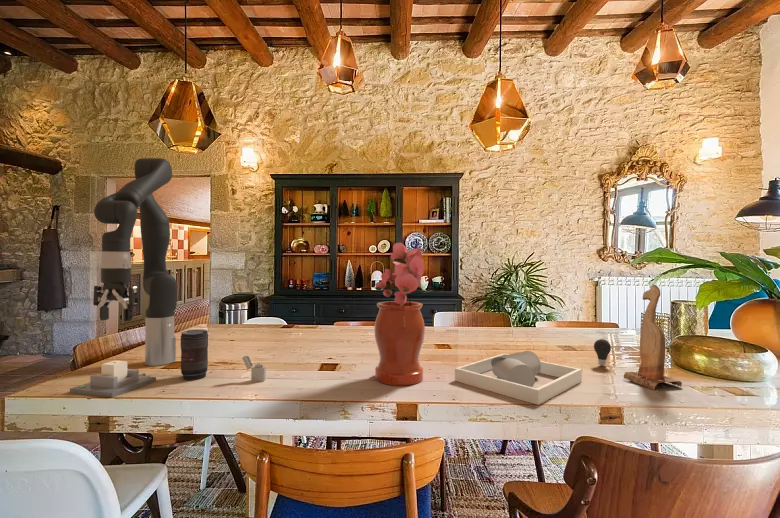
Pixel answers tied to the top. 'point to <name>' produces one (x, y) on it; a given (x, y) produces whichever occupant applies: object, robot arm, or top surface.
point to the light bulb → (602, 350)
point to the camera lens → (194, 354)
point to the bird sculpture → (651, 347)
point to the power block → (113, 384)
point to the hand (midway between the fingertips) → (116, 320)
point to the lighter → (255, 370)
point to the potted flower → (400, 321)
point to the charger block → (115, 369)
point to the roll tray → (529, 394)
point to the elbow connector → (517, 367)
